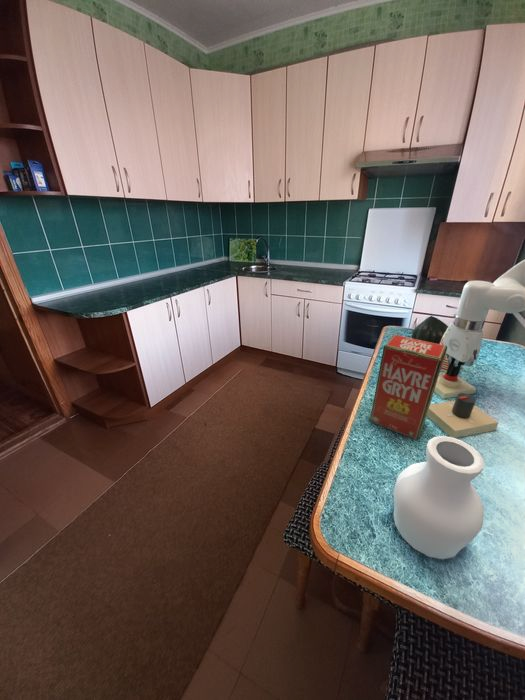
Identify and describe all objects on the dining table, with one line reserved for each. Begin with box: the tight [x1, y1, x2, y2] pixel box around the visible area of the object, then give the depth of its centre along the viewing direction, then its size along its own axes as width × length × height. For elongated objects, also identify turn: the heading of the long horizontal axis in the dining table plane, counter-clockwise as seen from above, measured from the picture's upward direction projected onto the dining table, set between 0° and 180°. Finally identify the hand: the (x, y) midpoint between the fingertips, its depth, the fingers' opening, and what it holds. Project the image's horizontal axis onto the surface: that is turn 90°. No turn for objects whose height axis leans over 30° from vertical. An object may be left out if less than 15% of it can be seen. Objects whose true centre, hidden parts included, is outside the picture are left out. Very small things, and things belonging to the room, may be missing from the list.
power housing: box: [434, 372, 477, 400], centre depth 97 cm, size 12×10×4 cm
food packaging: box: [369, 334, 447, 441], centre depth 78 cm, size 13×9×25 cm
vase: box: [392, 435, 485, 560], centre depth 52 cm, size 14×14×20 cm
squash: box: [411, 315, 449, 344], centre depth 121 cm, size 14×15×15 cm
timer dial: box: [452, 393, 477, 418], centre depth 81 cm, size 4×4×6 cm
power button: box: [444, 372, 459, 382], centre depth 96 cm, size 4×4×2 cm
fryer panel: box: [426, 400, 500, 439], centre depth 83 cm, size 14×11×3 cm
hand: (451, 374), depth 96 cm, fingers closed
